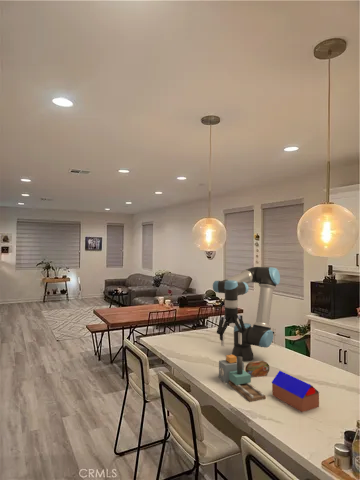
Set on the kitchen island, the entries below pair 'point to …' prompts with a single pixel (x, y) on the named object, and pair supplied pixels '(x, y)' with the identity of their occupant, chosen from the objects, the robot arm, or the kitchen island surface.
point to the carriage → (239, 374)
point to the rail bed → (248, 391)
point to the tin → (257, 368)
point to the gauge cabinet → (226, 370)
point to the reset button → (231, 358)
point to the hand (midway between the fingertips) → (231, 344)
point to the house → (295, 392)
